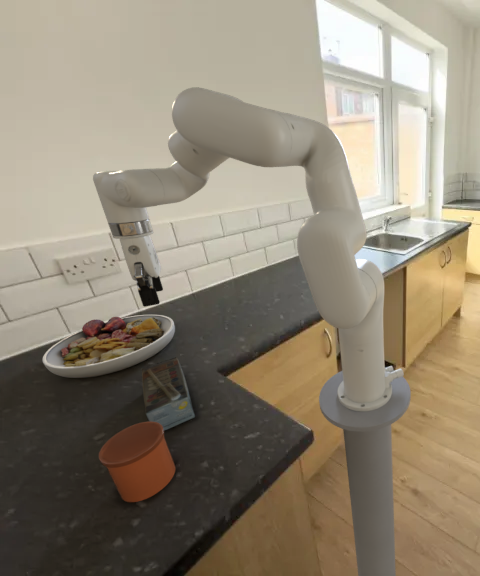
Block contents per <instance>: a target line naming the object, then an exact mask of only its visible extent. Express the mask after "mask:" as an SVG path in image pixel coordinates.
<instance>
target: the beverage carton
mask: <svg viewBox="0 0 480 576" xmlns="http://www.w3.org/2000/svg"><path fill="white" fill-rule="evenodd" d="M141 382H142V392H143V393H142V394H143V402H144V407H145V409H144V411H145V416H146V418H147V422H149V421H153V422H158V423H160V424H161V425H162V426H163V429H164V431H167V430H169V429H172V428H173V427H176V426H178V425H181V424H182V423H185V422H187V421H189V420H192V419H194V418H195V417H196V415H195V411H194V408H193V404H192V400H191V396H190V392H189V388H188V384H187V381H186V376H185V374H184V371H183V369H182V365H181V363H180V360H179V359H178V357H176V356H175V357H172V358H170V359H167V360H165V361H159V362H157V363H154V364H152V365H149V366H145V367H142V368H141Z"/></svg>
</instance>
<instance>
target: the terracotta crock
mask: <svg viewBox="0 0 480 576" xmlns="http://www.w3.org/2000/svg"><path fill="white" fill-rule="evenodd" d="M98 460H99V461H100V464H101V465H102V466H103V467H105V468H106V470H107V472H108V474H109V476H110V478H111V480H112V482H113V484H114V486H115V488H116V490H117V491H118V494H119V497H120V498H121V500H123V501H124V502H127V503H137V502H138V503H139V502H141V501H145V500H147V499H150V498H151V497H153V496H155V495H157V494H158V493H159V492H160V491H162V490H163V489H164V488H165V487H166V486H167V485H168V484H169V483H170V482H171V481H172V479H173V478H174V476H175V473H176V464H175V461H174V458H173V456H172V453H171V450H170V448H169V445H168V443H167V440H166V437H165V430H164V429H163V426H162V425H161V424H160V423H158V422H153V421H149V422H148V421H141V422H139V423H138V422H137V423H135V424H133V425H130V426H127V427H126V428H124V429H122V430H120V431H119V432H116V433H115V434H114V435H113V436H111V437H110V438H109V439H108V440H107V441H106V442H105V443H104V444H103V445H102V447H101V448H100V450H99V452H98Z"/></svg>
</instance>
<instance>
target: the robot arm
mask: <svg viewBox="0 0 480 576" xmlns="http://www.w3.org/2000/svg"><path fill="white" fill-rule="evenodd" d="M171 118H172V119H171V120H172V123H173V125H174V128H175V129H176V130H174V131H173V132H172V133H171V134H170V135H169V137H168V140H167V146H168V151H169V153H170V155H171V156H172V158H173V159H174V161H175V162H174V163H172V164H171V165H169V166H168V167H166V168H165V167H164V168H162V167H161V168H160V167H158V168H137V169H136V168H135V169H133V168H132V169H123V170H102V171H97V172H95V173H93V175H92V180H93V184H94V187H95V190H96V193H97V195H98V198H99V201H100V205H101V207H102V211H103V213H104V216H105V218H106V221H107V224H108V227H109V230H110V234H111V237H112V238H113V239H116V240H117V239H118V240H119V242H120V243H119V244H120V246H121V250H122V253H123V257H124V259H125V262H126V265H127V269H128V272H129V274H130V276H131V279H132V280H133V281H135V283H136V287H137V288H136V289H137V292H138V295H139V298H140V301H141V304H142V307H145V308H146V307H151V306H156V305H159V304H160V299H159V295H158V292H163V291H164V288H163V287H164V286H163V285H162V281H161V277H160V274H161V271H162V265H161V262H160V259H159V257H158V253H157V251H156V247H155V245H154V243H153V242H154V241H153V240H152V237H151V235H153V234H154V229H153V225H152V223H151V219H150V216H149V213H148V209H147V208H150V207H151V208H153V207H157V206H163V205H170V204H177V203H180V202H183V201H185V200H187V199H189V198H191V197H192V196H193V195H195V194H197V193H198V192H200V191H201V190H202V189H203V188H204V187H205V186H206V185H207V183H208V181H209V178H210V174H211V172H212V171H214V170H215V169H217V168H218V167H219V166H220V165H222V164H223V163H224V162H226V161H227V160H229V159H233V160H235V161H239V162H243V163H245V164H249V165H252V166H255V167H262V168H283V167H284V168H285V167H286V168H287V167H302V168H303V169H304V171H305V175H304V177H305V179H304V180H305V188H306V189H305V190H306V193H307V196H308V198H309V202H310V205H311V210H312V213H313V215H310V216H309V217H308V218H307V219H305V221H304V222H303V223H302V224H301V226H300V227H299V230H298V232H297V238H296V249H297V255H298V258H299V262H300V264H301V267H302V268H301V269H302V270H303V274H304V277H305V279H306V282H307V285H308V289H309V291H310V294H311V297H312V300H313V302H314V305H315V307H316V310H317V311H318V313H319V315H320V317H321V318H322V319H323V320H324V321H325V322H326V323H327V324H328V325H330V326H331V327H333V328H336V329H338V339H339V351H340V361H341V371H342V372H343V381H342V382H341V384H340V385H339V387H338V391H337V392H338V399H339V401H340V403H341V404H342V405H343V406H345V407H346V408H348V409H350V410H354V411H361V412H362V411H371V410H375V409H378V408H380V407H382V406H383V405H385V404H386V403H387V402H388V401H389V399H390V398H391V395H392V385H391V382H392V381H393V379H397V378H400V377H402V376H403V377H404V376H405V374H404V370H403V369H402V368H398V369H394V367H393V365H390V366H386V365H385V340H384V338H385V337H384V335H385V333H384V305H385V279H384V275H383V273H382V271H381V270H380V267H378V265H377V264H376V263H374V262H373V261H371V260H369V259H365V258H357V259H356V256H355V255H356V254H358V253H359V252H360V251H361V250H362V248H364V246H365V244H366V242H367V238H368V237H367V228H366V224H365V221H364V217H363V214H362V210H361V207H360V202H359V198H358V195H357V190H356V188H355V184H354V180H353V177H352V174H351V170H350V166H349V162H348V158H347V155H346V152H345V149H344V146H343V144H342V142H341V140H340V138H339V137H338V136H337V134H336V133H335V132H334V131H333V130H332V129H331V128H330V127H329V126H327V125H326V124H324V123H322V122H319V121H317V120H314V119H312V118H308V117H304V116H300V115H297V114H294V113H293V114H292V113H288V112H283V111H279V110H275V109H271V108H267V107H262V106H259V105H255V104H252V103H248V102H245V101H243V100H241V99H240V98H238V97H235V96H234V95H230V94H227V93H222V92H219V91H215V90H211V89H209V88H203V87H189V88H186V89H184V90H182V91H181V92H179V93H178V94H177V96H176V98H175V99H174V101H173V102H172V106H171ZM385 367H386V368H385ZM393 370H394V371H393ZM392 371H393V372H392ZM390 372H391V373H390Z"/></svg>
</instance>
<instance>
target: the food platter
mask: <svg viewBox="0 0 480 576" xmlns="http://www.w3.org/2000/svg"><path fill="white" fill-rule="evenodd" d="M175 332H176V325H175V322H174V320H173V319H172V318H171V317H170V316H166V315H163V314H140V315H132V316H126V317H120V316H113V317H111V318H109V319H108V321H105V322H104V320H101V319H91V320H89V321H88V322H86V323H84V324H83V325H82V328H81V330H79V331H77V332H75V333H73V334H70V335H68V336H67V337H64V338H62V339H61V340H58V342H56V343H54V344H53V345H52V346H51V347H49V348H48V349H47V351H46V352H44V354H43V356H42V363H43V365H44V367H45V369H47V371H49V372H50V373H52V374H53V375H55V376H58V377H63V378H70V379H86V378H94V377H100V376H104V375H108V374H112V373H116V372H120V371H123V370H126V369H128V368H131V367H133V366H135V365H138V364H141V363H142V362H144V361H146V360H148V359H150V358H152V357H154V356H155V355H157V354H158V353H160V352H161V351H162V350H163V349H165V347H167V346H168V345H169V343H170V342H171V341H172V339H173V337H174V336H175Z"/></svg>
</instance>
